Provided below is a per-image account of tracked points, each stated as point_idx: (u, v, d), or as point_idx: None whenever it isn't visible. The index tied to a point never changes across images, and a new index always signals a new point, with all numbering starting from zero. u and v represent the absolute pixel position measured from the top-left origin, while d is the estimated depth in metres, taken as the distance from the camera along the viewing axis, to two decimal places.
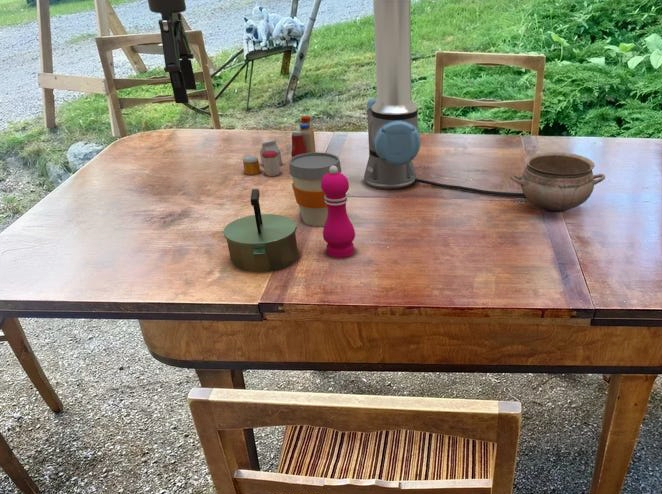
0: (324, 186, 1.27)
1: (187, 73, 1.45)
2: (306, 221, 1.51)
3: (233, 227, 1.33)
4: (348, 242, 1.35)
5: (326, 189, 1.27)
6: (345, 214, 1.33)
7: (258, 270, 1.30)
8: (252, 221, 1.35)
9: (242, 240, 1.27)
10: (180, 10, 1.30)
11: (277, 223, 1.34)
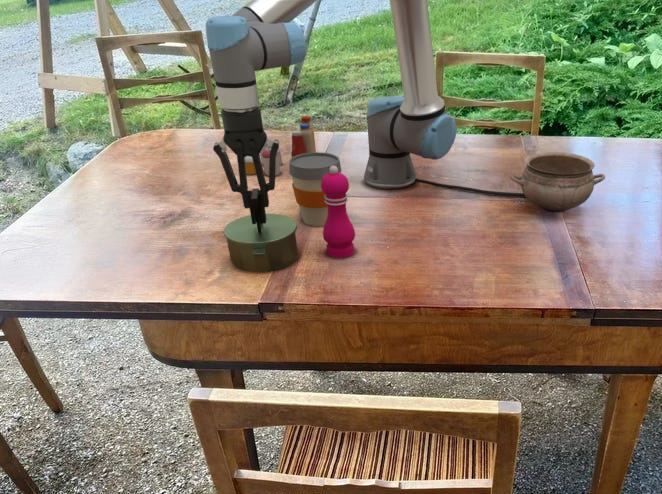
0: (324, 186, 1.27)
1: None
2: (306, 221, 1.51)
3: (233, 226, 1.33)
4: (348, 242, 1.35)
5: (326, 189, 1.27)
6: (345, 214, 1.33)
7: (258, 270, 1.30)
8: None
9: (242, 240, 1.27)
10: (230, 130, 1.17)
11: (277, 222, 1.34)
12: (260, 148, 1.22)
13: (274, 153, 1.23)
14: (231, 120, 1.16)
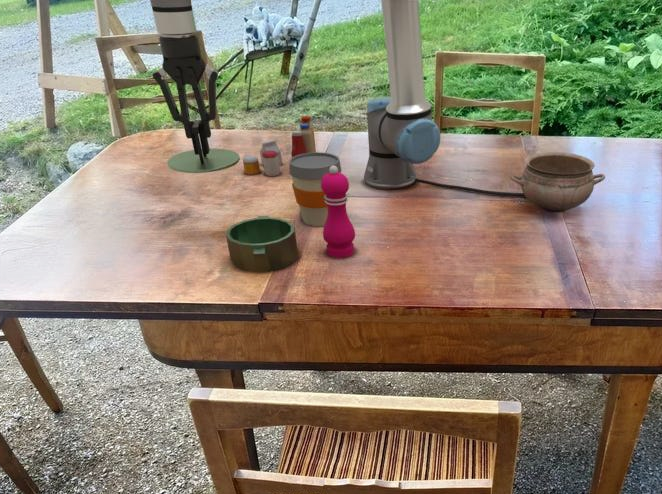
0: (324, 186, 1.27)
1: None
2: (306, 221, 1.51)
3: (177, 158, 1.37)
4: (348, 242, 1.35)
5: (326, 189, 1.27)
6: (345, 214, 1.33)
7: (258, 270, 1.30)
8: None
9: (184, 168, 1.31)
10: (168, 56, 1.21)
11: (221, 155, 1.38)
12: (199, 76, 1.26)
13: (213, 82, 1.27)
14: (168, 46, 1.20)
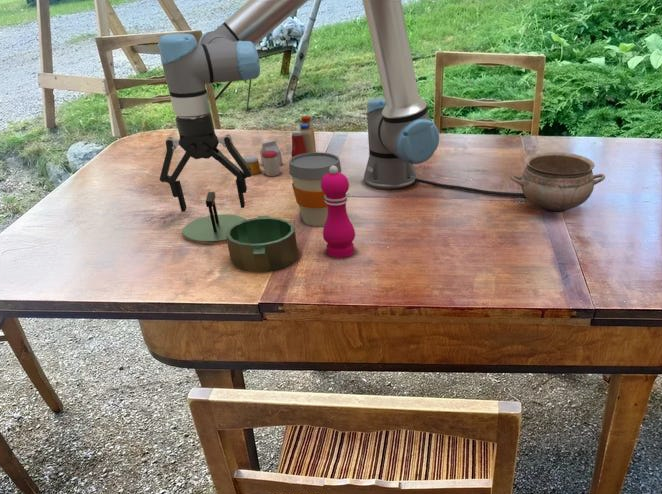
0: (324, 186, 1.27)
1: None
2: (306, 221, 1.51)
3: (192, 226, 1.47)
4: (348, 242, 1.35)
5: (326, 189, 1.27)
6: (345, 214, 1.33)
7: (258, 270, 1.30)
8: (210, 221, 1.49)
9: (198, 238, 1.41)
10: (184, 135, 1.31)
11: (232, 222, 1.49)
12: None
13: (230, 146, 1.35)
14: (184, 126, 1.29)
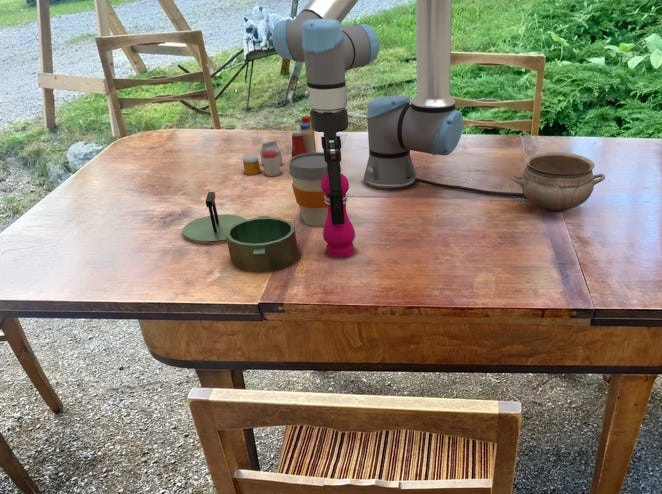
0: (324, 186, 1.27)
1: None
2: (306, 221, 1.51)
3: (192, 226, 1.47)
4: (348, 242, 1.35)
5: (326, 189, 1.27)
6: (345, 214, 1.33)
7: (258, 270, 1.30)
8: (210, 221, 1.49)
9: (198, 238, 1.41)
10: (344, 129, 1.21)
11: (232, 222, 1.49)
12: None
13: None
14: (346, 117, 1.21)
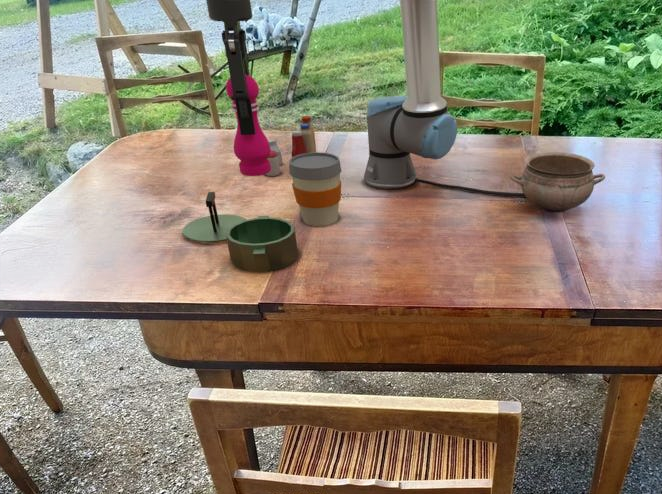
0: (229, 88, 1.13)
1: None
2: (306, 221, 1.51)
3: (192, 226, 1.47)
4: (261, 157, 1.21)
5: (231, 92, 1.13)
6: (256, 124, 1.19)
7: (258, 270, 1.30)
8: (210, 221, 1.49)
9: (198, 238, 1.41)
10: (246, 18, 1.07)
11: (232, 222, 1.49)
12: None
13: None
14: (248, 5, 1.07)
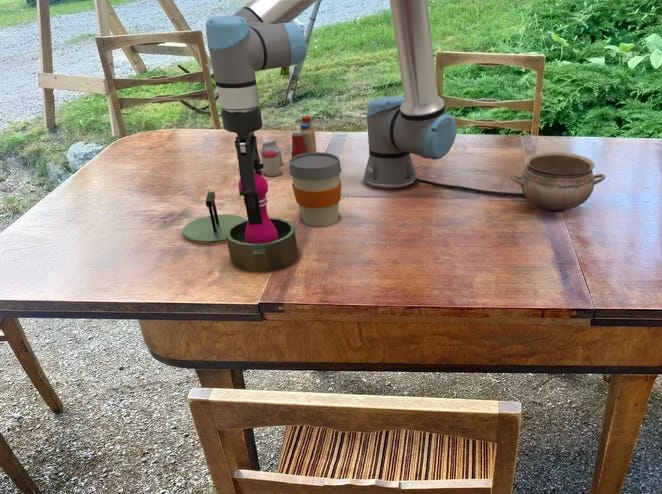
0: None
1: None
2: (306, 221, 1.51)
3: (192, 226, 1.47)
4: None
5: None
6: (266, 216, 1.30)
7: (258, 270, 1.30)
8: (210, 221, 1.49)
9: (198, 238, 1.41)
10: (257, 128, 1.18)
11: (232, 222, 1.49)
12: None
13: None
14: (258, 117, 1.18)
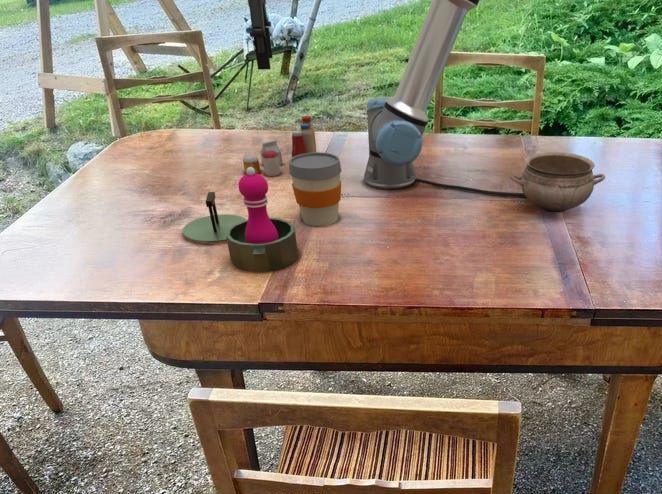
0: (241, 187, 1.25)
1: None
2: (306, 221, 1.51)
3: (192, 226, 1.47)
4: None
5: (243, 190, 1.25)
6: (266, 216, 1.30)
7: (258, 270, 1.30)
8: (210, 221, 1.49)
9: (198, 238, 1.41)
10: None
11: (232, 222, 1.49)
12: None
13: None
14: None
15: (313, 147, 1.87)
